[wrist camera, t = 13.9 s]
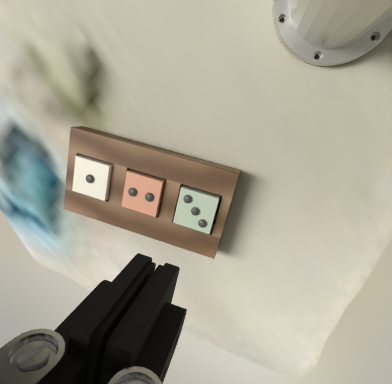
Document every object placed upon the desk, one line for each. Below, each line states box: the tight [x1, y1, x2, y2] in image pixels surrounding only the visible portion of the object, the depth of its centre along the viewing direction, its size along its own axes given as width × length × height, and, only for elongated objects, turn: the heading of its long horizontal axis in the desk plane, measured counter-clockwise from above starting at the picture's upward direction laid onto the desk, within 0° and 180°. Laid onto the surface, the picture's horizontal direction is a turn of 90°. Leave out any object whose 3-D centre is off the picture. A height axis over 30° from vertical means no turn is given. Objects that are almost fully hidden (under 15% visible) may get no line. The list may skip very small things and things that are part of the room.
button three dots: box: [173, 185, 221, 234], centre depth 37 cm, size 5×5×3 cm
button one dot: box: [72, 155, 114, 201], centre depth 39 cm, size 5×5×3 cm
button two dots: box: [121, 169, 167, 217], centre depth 38 cm, size 5×5×3 cm
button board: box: [64, 126, 240, 259], centre depth 38 cm, size 12×23×2 cm, turn 77°
